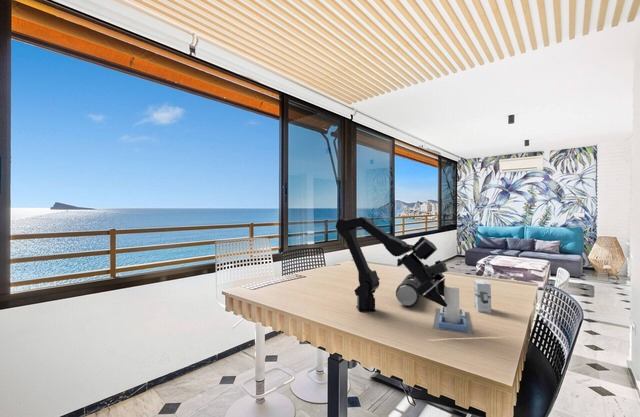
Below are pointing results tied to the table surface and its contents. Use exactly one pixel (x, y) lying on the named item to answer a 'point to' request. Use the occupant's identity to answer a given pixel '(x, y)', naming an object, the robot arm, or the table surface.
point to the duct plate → (462, 328)
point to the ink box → (482, 296)
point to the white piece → (452, 305)
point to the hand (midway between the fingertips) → (449, 303)
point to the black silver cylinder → (408, 291)
